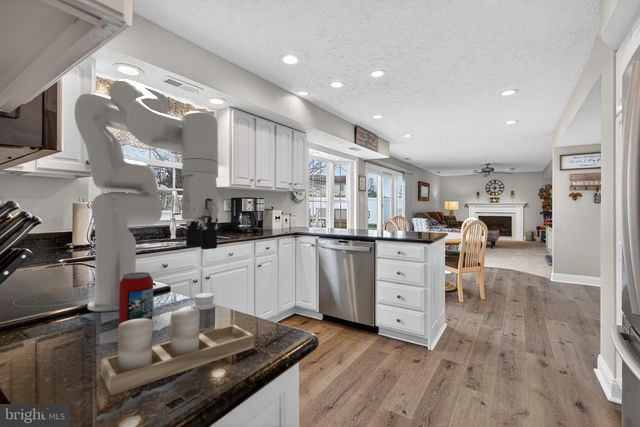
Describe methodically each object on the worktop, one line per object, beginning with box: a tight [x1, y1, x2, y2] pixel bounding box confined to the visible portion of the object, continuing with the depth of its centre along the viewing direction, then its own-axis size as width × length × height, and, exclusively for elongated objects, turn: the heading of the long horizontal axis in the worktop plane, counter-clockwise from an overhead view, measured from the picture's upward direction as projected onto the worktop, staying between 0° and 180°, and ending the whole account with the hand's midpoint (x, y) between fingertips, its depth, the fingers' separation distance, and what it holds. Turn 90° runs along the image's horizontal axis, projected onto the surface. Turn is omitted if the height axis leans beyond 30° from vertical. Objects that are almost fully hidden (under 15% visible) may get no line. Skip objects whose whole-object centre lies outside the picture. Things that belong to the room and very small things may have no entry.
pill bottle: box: [192, 292, 216, 333], centre depth 69 cm, size 5×5×8 cm
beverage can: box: [118, 271, 154, 325], centre depth 72 cm, size 7×7×12 cm
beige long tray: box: [100, 308, 255, 396], centre depth 57 cm, size 8×24×8 cm, turn 134°
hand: (200, 247), depth 69 cm, fingers open, 9 cm apart
